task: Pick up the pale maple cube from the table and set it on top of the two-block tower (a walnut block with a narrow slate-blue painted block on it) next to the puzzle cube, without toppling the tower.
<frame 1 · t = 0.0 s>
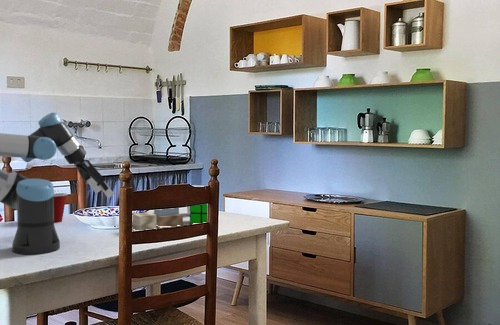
hand: (104, 193, 216), 15 cm above the table, tool tilted 35°, fingers open, 13 cm apart
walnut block: (166, 225, 234), on the table, touching slate block
plastic cup: (54, 222, 237), on the table
puzzle cube: (203, 223, 240), on the table
foam cup: (194, 214, 259), on the table
slate block: (166, 214, 233), point 5 cm above the table, touching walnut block
maple block: (144, 231, 221), on the table
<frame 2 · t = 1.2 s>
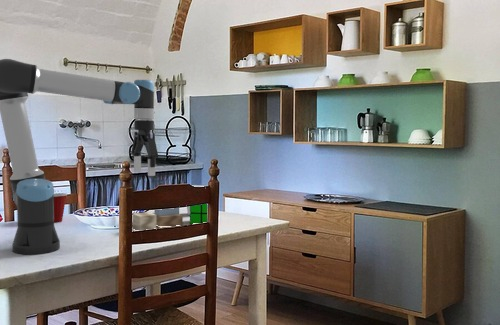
hand: (144, 174, 219), 23 cm above the table, tool pointing down, fingers open, 13 cm apart
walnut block: (166, 225, 234), on the table
slate block: (166, 214, 233), point 5 cm above the table
everything else where it was.
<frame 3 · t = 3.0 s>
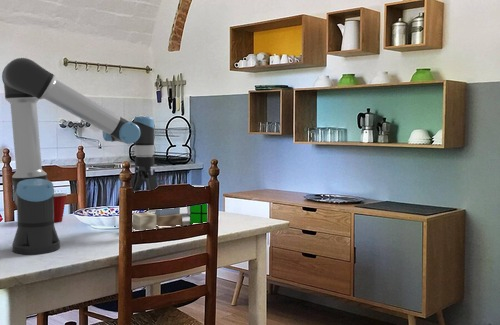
hand: (145, 209, 220), 9 cm above the table, tool pointing down, fingers open, 13 cm apart
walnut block: (166, 225, 234), on the table, touching slate block
slate block: (167, 213, 234), point 5 cm above the table, touching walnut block
everything else where it was.
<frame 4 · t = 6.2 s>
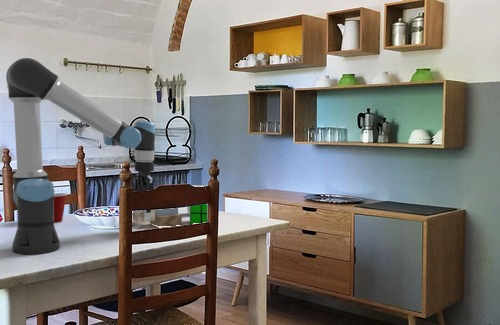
hand: (143, 218, 220), 5 cm above the table, tool pointing down, fingers closed on maple block, 7 cm apart
maple block: (142, 220, 220), point 5 cm above the table, touching gripper
when the fingers open (10 cm above the table, at t = 11.2 s): maple block stays where it is, resting on slate block.
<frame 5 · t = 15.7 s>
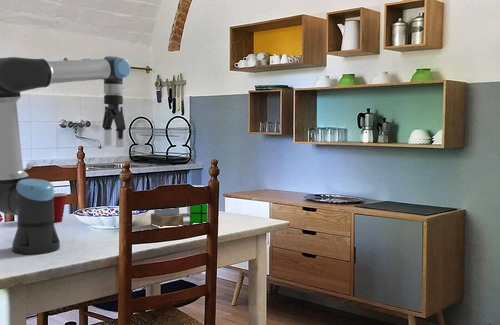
hand: (113, 146, 231), 33 cm above the table, tool pointing down, fingers open, 13 cm apart
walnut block: (166, 226, 233), on the table, touching slate block
slate block: (166, 214, 232), point 5 cm above the table, touching maple block, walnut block
maple block: (167, 204, 233), point 9 cm above the table, touching slate block
everything else where it was.
at the end: maple block inside the target area on the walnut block (0.8 cm from its centre), point 9.0 cm above the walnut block's base; slate block tilted 0°; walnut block moved 1.1 cm from its start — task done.
